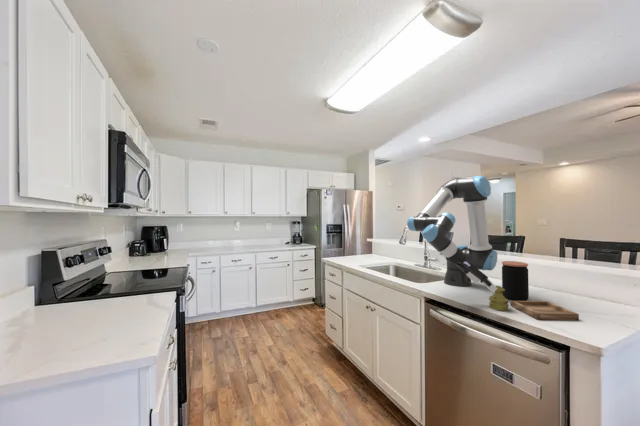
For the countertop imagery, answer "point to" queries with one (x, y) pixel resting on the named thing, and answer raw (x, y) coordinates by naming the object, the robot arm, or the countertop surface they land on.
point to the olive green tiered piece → (499, 300)
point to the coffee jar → (515, 281)
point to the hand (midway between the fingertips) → (486, 286)
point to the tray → (544, 310)
